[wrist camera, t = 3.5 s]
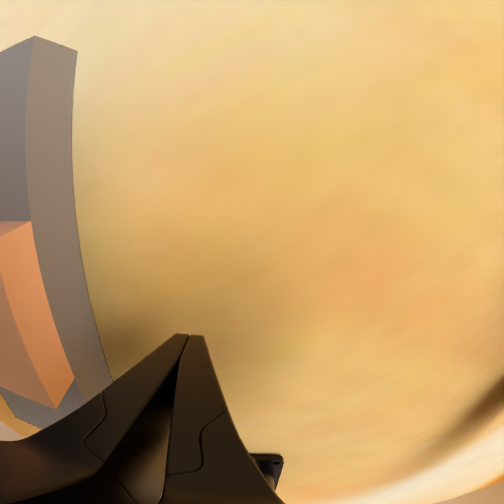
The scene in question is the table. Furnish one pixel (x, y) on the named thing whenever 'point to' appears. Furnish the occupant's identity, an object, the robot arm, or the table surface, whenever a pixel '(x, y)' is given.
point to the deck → (48, 209)
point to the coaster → (28, 323)
